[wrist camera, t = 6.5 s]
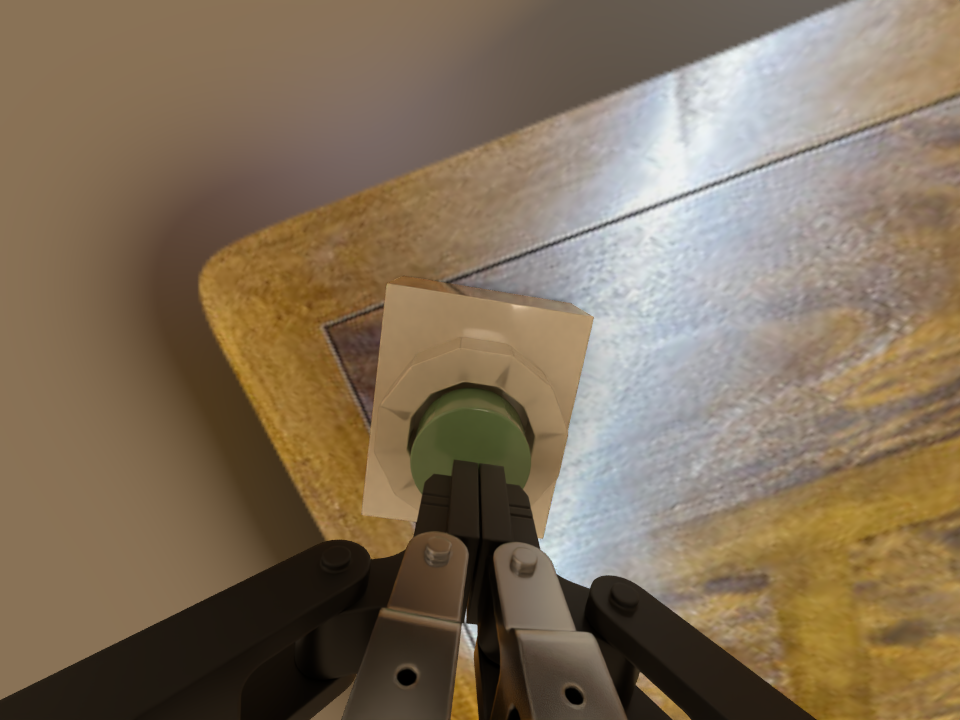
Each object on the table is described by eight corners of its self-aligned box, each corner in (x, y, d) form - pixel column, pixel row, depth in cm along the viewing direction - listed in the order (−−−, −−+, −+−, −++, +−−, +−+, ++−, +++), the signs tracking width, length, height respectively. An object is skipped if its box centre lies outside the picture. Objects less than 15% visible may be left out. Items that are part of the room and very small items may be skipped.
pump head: (424, 379, 16) (417, 398, 14) (533, 395, 16) (542, 417, 14) (411, 478, 17) (403, 509, 15) (514, 492, 17) (519, 525, 15)
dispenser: (402, 275, 20) (374, 288, 15) (571, 303, 21) (610, 326, 15) (379, 469, 23) (348, 546, 17) (531, 490, 23) (550, 571, 18)
